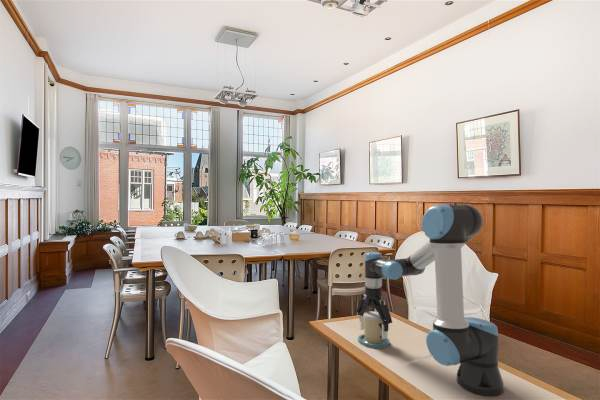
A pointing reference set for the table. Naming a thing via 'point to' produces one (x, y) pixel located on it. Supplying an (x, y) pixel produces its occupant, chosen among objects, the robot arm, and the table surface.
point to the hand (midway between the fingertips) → (373, 333)
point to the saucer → (381, 345)
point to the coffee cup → (372, 327)
